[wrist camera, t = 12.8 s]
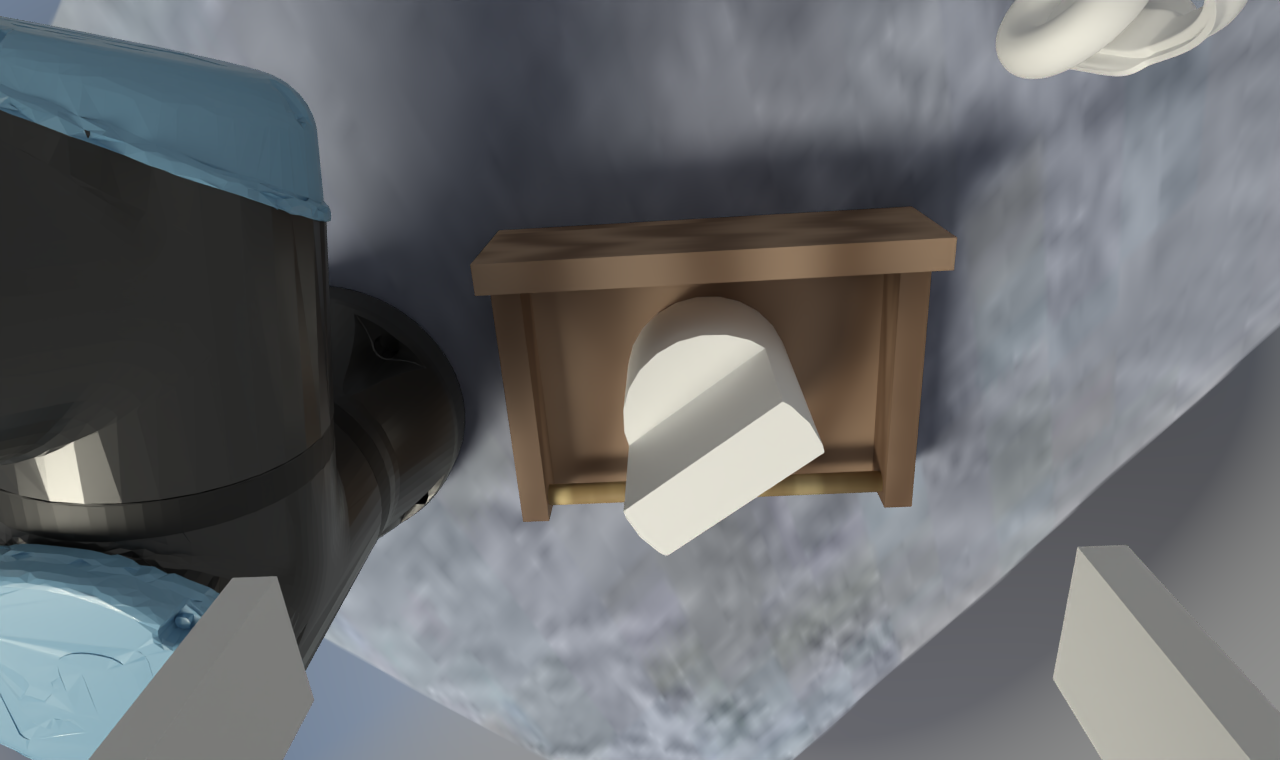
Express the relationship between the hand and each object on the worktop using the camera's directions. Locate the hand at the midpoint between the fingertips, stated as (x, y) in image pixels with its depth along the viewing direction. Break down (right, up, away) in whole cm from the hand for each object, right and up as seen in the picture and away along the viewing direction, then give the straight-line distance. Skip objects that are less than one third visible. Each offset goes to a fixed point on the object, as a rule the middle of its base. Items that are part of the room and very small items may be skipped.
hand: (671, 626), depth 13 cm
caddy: (+3, +5, +32) cm, 33 cm away
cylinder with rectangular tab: (+3, +5, +32) cm, 32 cm away
